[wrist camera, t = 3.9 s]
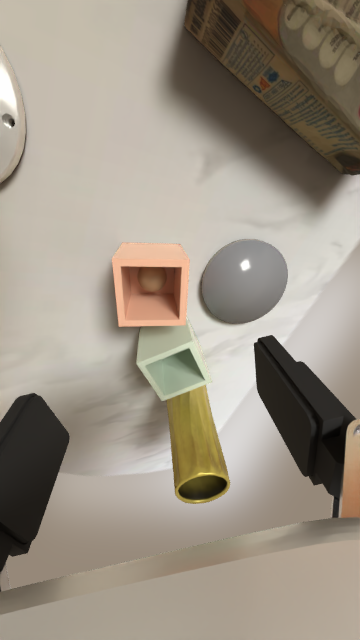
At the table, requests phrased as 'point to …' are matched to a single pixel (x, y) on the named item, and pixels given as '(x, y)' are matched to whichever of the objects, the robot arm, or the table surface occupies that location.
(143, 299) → the cup terracotta
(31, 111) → the table surface
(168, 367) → the cup green
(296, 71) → the beverage carton
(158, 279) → the cork ball
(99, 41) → the table surface
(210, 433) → the vase
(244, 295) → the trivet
